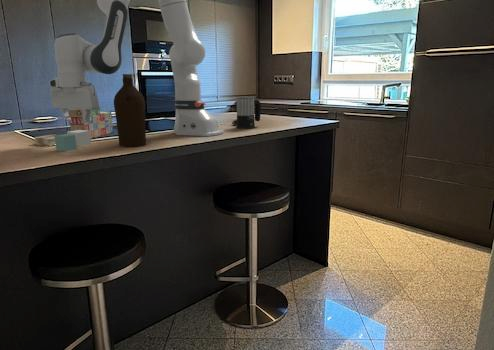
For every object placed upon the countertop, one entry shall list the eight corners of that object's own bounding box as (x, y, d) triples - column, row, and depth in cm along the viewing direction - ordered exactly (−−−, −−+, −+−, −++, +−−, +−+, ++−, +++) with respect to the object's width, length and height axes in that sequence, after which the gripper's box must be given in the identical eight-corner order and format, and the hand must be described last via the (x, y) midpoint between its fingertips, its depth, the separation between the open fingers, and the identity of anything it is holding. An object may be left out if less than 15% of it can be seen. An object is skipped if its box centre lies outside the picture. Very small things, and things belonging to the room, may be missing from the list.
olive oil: (153, 144, 134) (148, 74, 127) (125, 148, 127) (119, 74, 120) (139, 141, 141) (134, 74, 135) (112, 144, 134) (105, 74, 128)
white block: (91, 144, 136) (89, 130, 135) (79, 146, 131) (77, 132, 130) (80, 143, 138) (79, 129, 137) (68, 145, 134) (66, 131, 132)
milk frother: (248, 129, 174) (248, 97, 170) (221, 127, 182) (220, 96, 178) (263, 126, 185) (263, 96, 181) (237, 124, 193) (237, 95, 190)
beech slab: (69, 143, 139) (68, 135, 138) (50, 147, 132) (49, 138, 131) (54, 142, 142) (53, 134, 141) (35, 145, 135) (34, 137, 134)
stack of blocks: (101, 132, 166) (98, 104, 163) (113, 132, 165) (111, 104, 162) (71, 139, 146) (67, 108, 142) (85, 140, 144) (82, 108, 141)
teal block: (76, 149, 126) (75, 134, 125) (65, 151, 122) (63, 136, 121) (67, 148, 128) (65, 134, 127) (56, 150, 124) (54, 135, 123)
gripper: (101, 82, 127) (104, 122, 131) (60, 81, 136) (65, 119, 140) (86, 82, 122) (90, 124, 126) (45, 82, 130) (50, 120, 134)
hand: (76, 121), depth 133 cm, fingers open, 8 cm apart
